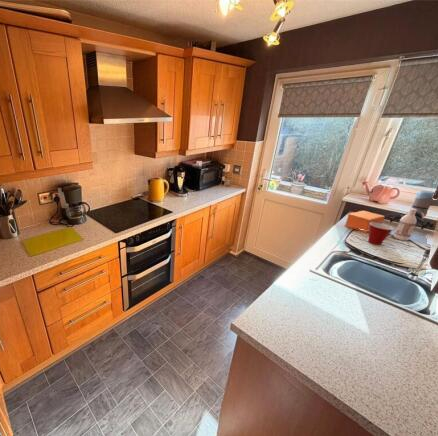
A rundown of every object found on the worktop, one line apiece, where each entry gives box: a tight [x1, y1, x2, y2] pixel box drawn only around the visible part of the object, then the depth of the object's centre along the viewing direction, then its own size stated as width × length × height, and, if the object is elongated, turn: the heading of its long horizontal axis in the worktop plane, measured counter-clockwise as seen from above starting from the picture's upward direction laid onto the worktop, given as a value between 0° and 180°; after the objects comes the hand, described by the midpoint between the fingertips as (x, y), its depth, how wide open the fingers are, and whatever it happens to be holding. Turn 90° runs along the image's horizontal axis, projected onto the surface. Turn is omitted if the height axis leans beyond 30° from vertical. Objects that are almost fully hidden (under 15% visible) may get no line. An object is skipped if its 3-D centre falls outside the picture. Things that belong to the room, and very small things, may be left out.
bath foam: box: [393, 207, 417, 241], centre depth 144 cm, size 7×7×20 cm
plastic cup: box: [368, 223, 394, 246], centre depth 140 cm, size 11×11×12 cm
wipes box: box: [344, 215, 385, 233], centre depth 163 cm, size 17×13×9 cm
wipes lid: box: [347, 210, 386, 221], centre depth 161 cm, size 17×13×1 cm
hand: (406, 223), depth 142 cm, fingers open, 13 cm apart
